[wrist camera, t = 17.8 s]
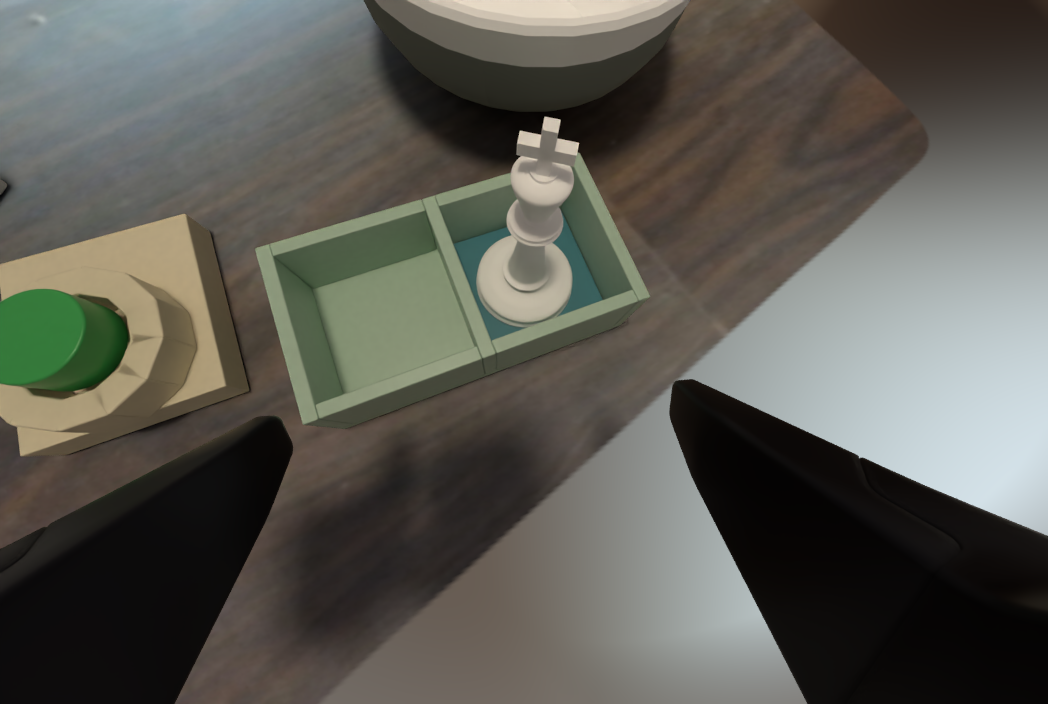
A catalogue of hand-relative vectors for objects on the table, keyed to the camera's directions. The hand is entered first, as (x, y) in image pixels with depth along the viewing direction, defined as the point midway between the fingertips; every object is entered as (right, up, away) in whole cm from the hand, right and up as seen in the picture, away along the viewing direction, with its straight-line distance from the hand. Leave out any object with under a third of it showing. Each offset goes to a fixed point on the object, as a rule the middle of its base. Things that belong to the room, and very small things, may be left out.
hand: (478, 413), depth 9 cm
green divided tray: (-2, +4, +11) cm, 12 cm away
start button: (-17, +2, +6) cm, 18 cm away
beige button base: (-17, +2, +10) cm, 20 cm away
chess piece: (+1, +5, +11) cm, 12 cm away
